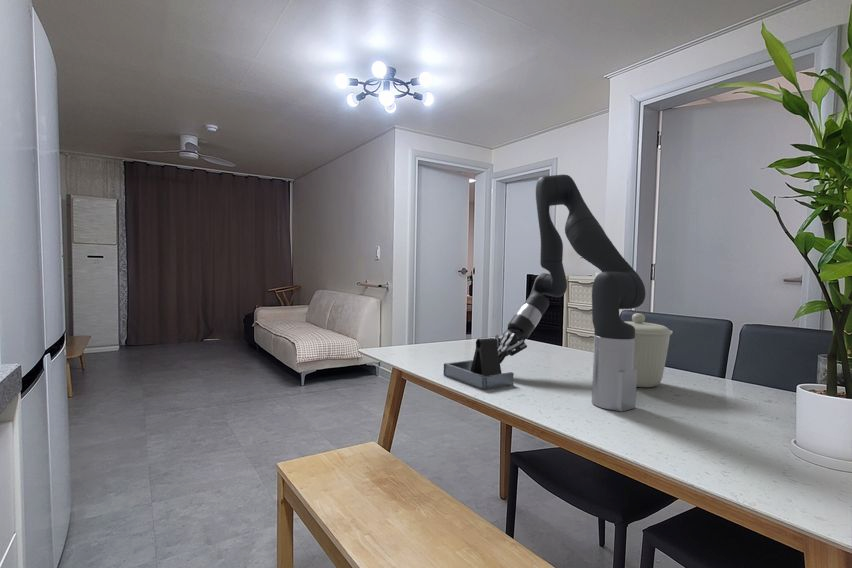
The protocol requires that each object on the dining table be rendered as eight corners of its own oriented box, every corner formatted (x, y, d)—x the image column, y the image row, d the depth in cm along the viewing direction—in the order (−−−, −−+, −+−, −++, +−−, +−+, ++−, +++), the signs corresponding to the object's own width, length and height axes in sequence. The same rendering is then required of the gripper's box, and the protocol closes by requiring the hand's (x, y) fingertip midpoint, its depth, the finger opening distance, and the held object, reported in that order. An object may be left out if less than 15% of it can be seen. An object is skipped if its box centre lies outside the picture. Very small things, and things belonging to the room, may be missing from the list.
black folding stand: (502, 380, 128) (503, 340, 128) (485, 382, 126) (487, 341, 125) (485, 373, 137) (486, 336, 136) (469, 375, 134) (470, 336, 133)
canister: (592, 381, 130) (595, 312, 129) (618, 372, 142) (621, 309, 141) (656, 395, 117) (659, 318, 116) (679, 384, 129) (682, 314, 128)
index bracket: (513, 384, 124) (513, 372, 124) (484, 390, 118) (484, 377, 118) (471, 370, 140) (471, 360, 140) (443, 374, 134) (443, 363, 134)
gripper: (504, 311, 143) (475, 351, 137) (534, 315, 132) (504, 359, 126) (515, 326, 146) (487, 366, 140) (546, 331, 135) (516, 375, 129)
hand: (495, 362), depth 133 cm, fingers closed
